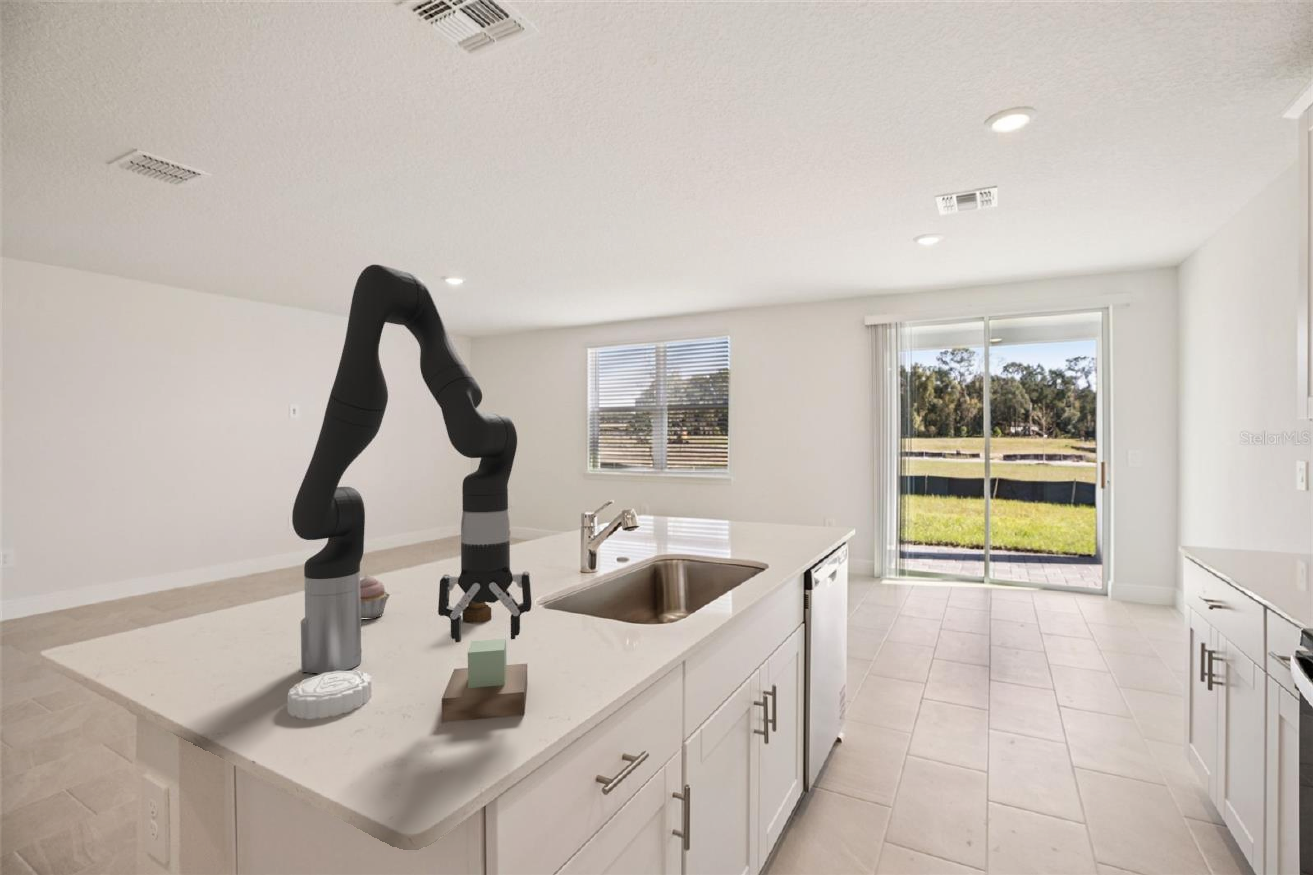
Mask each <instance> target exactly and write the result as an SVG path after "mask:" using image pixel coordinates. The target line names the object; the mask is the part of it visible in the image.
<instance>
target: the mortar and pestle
mask: <svg viewBox="0 0 1313 875" xmlns="http://www.w3.org/2000/svg"><path fill="white" fill-rule="evenodd" d="M461 614H462V615H461V621H462V622H465V623H469V624H473V623H474V624H476V623H477V624H478V623H479V624H480V623H483V622H487V621H488V622H489V621H490V620H492V617H493V616H492V607H491V606H489V605H488V604H487V602H483V603H476V604H475V602H472V601H470V602H469V603H468V605H467V606H466V607H465V608H464V610H463V611H462V612H461Z"/></svg>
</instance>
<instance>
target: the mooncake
mask: <svg viewBox="0 0 1313 875" xmlns="http://www.w3.org/2000/svg"><path fill="white" fill-rule="evenodd" d="M372 690H373V689H372V676H371V675H369V674H368V673H366V672H362V671H359V670H345V671H338V670H337V671H334V672H325V673H323V674H317V675H315V676H312V677H308V678H305V679H302V681H300V682H298V683H296V684H294V685H293V686H292V687H291V688H290V689H289V690H288V694H287V713H288V714H290V716H291V717H296V718H297V719H307V720H314V719H326V718H328V717H336V716H340V715H342V714H346V713H347V714H348V713H349V712H352V711H353V710H355V709H359V708H361V707H362V706H363V705H365V704H367V703H368V702H369V700H370V699H371V698H372V696H373V694H372Z"/></svg>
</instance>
